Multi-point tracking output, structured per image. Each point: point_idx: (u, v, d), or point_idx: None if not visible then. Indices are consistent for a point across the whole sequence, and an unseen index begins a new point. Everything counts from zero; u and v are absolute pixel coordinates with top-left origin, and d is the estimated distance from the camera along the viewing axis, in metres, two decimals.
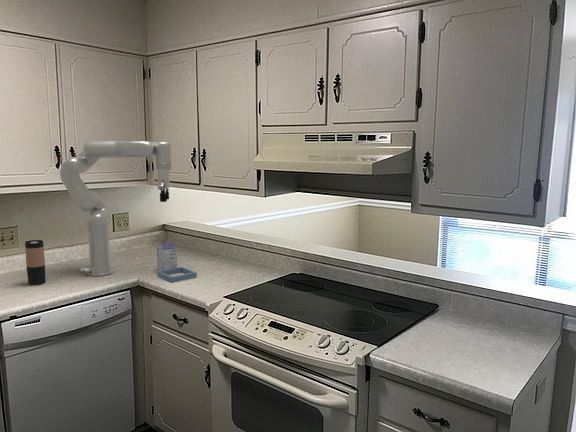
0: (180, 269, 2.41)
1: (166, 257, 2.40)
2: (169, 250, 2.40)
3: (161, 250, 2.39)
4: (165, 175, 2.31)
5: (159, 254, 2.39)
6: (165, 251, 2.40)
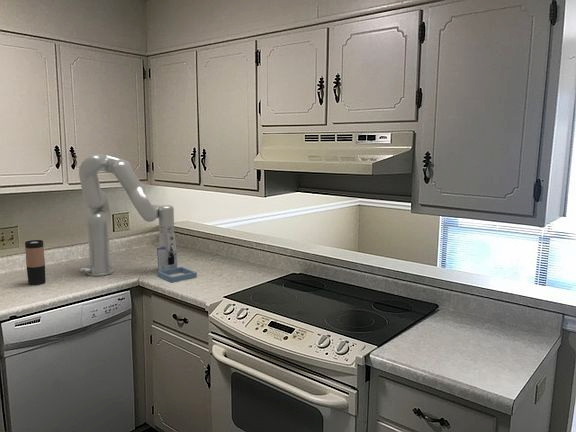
0: (180, 269, 2.41)
1: (166, 257, 2.40)
2: (169, 250, 2.40)
3: (161, 250, 2.39)
4: None
5: (159, 254, 2.39)
6: (165, 251, 2.40)
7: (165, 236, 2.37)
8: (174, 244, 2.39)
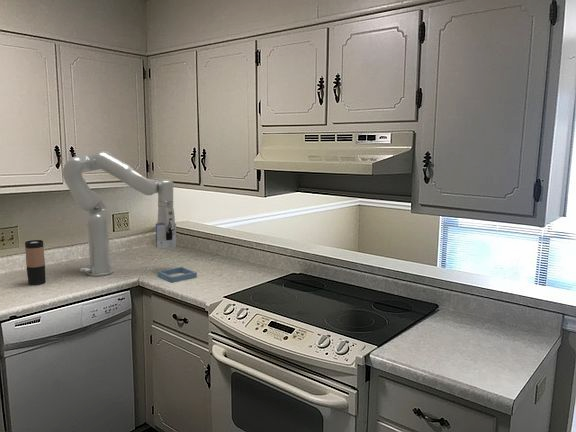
0: (180, 269, 2.41)
1: (165, 233, 2.38)
2: None
3: (160, 225, 2.37)
4: None
5: (158, 229, 2.36)
6: (164, 227, 2.37)
7: (164, 211, 2.35)
8: (173, 219, 2.37)
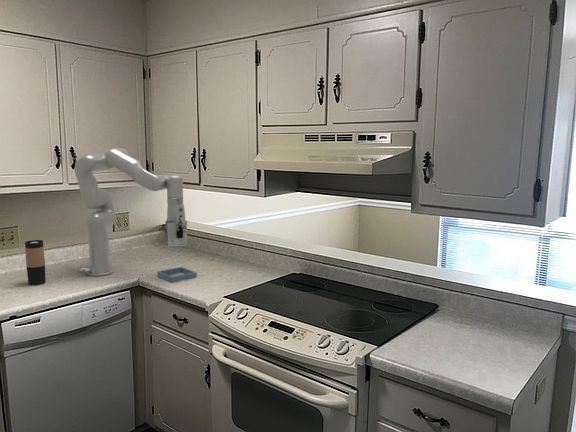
0: (180, 269, 2.41)
1: (176, 231, 2.27)
2: (179, 223, 2.27)
3: (170, 223, 2.25)
4: None
5: (168, 227, 2.25)
6: None
7: (174, 207, 2.24)
8: (183, 216, 2.26)
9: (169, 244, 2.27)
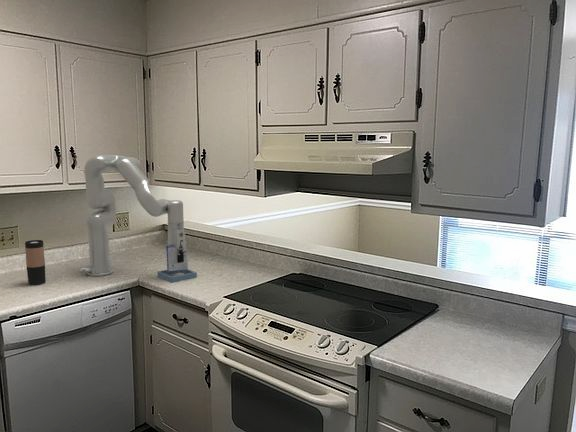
0: None
1: (176, 255, 2.29)
2: None
3: (171, 248, 2.27)
4: None
5: (169, 252, 2.27)
6: (175, 249, 2.28)
7: (174, 232, 2.26)
8: (184, 241, 2.28)
9: (170, 268, 2.29)
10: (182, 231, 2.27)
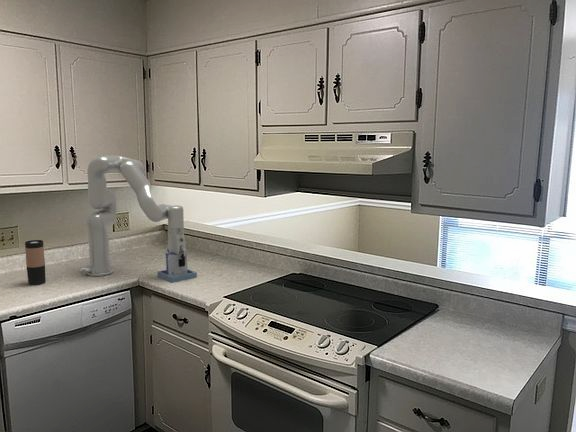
0: None
1: (176, 262, 2.30)
2: None
3: (171, 255, 2.28)
4: None
5: (169, 260, 2.28)
6: (175, 256, 2.29)
7: (174, 238, 2.26)
8: (184, 246, 2.28)
9: None
10: (182, 236, 2.27)
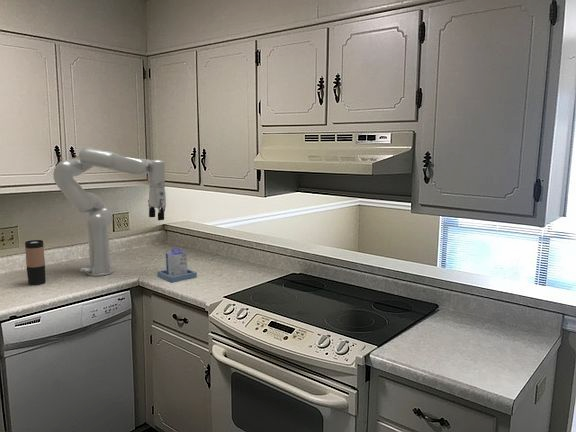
0: None
1: (176, 262, 2.30)
2: (179, 255, 2.30)
3: (171, 255, 2.28)
4: None
5: (169, 260, 2.28)
6: (175, 256, 2.29)
7: (155, 191, 2.30)
8: (164, 200, 2.32)
9: None
10: (162, 190, 2.31)
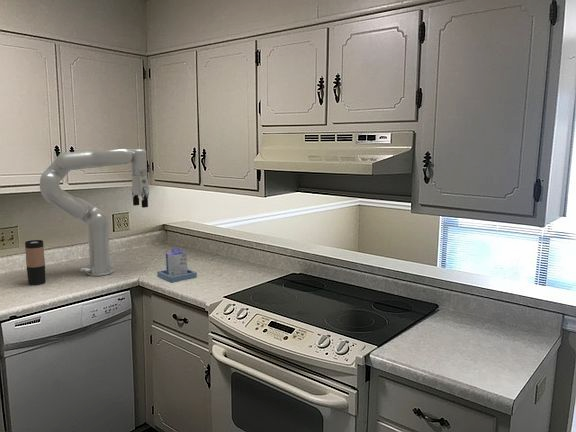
0: None
1: (176, 262, 2.30)
2: (179, 255, 2.30)
3: (171, 255, 2.28)
4: None
5: (169, 260, 2.28)
6: (175, 256, 2.29)
7: (137, 179, 2.36)
8: (147, 188, 2.38)
9: None
10: (145, 178, 2.37)
